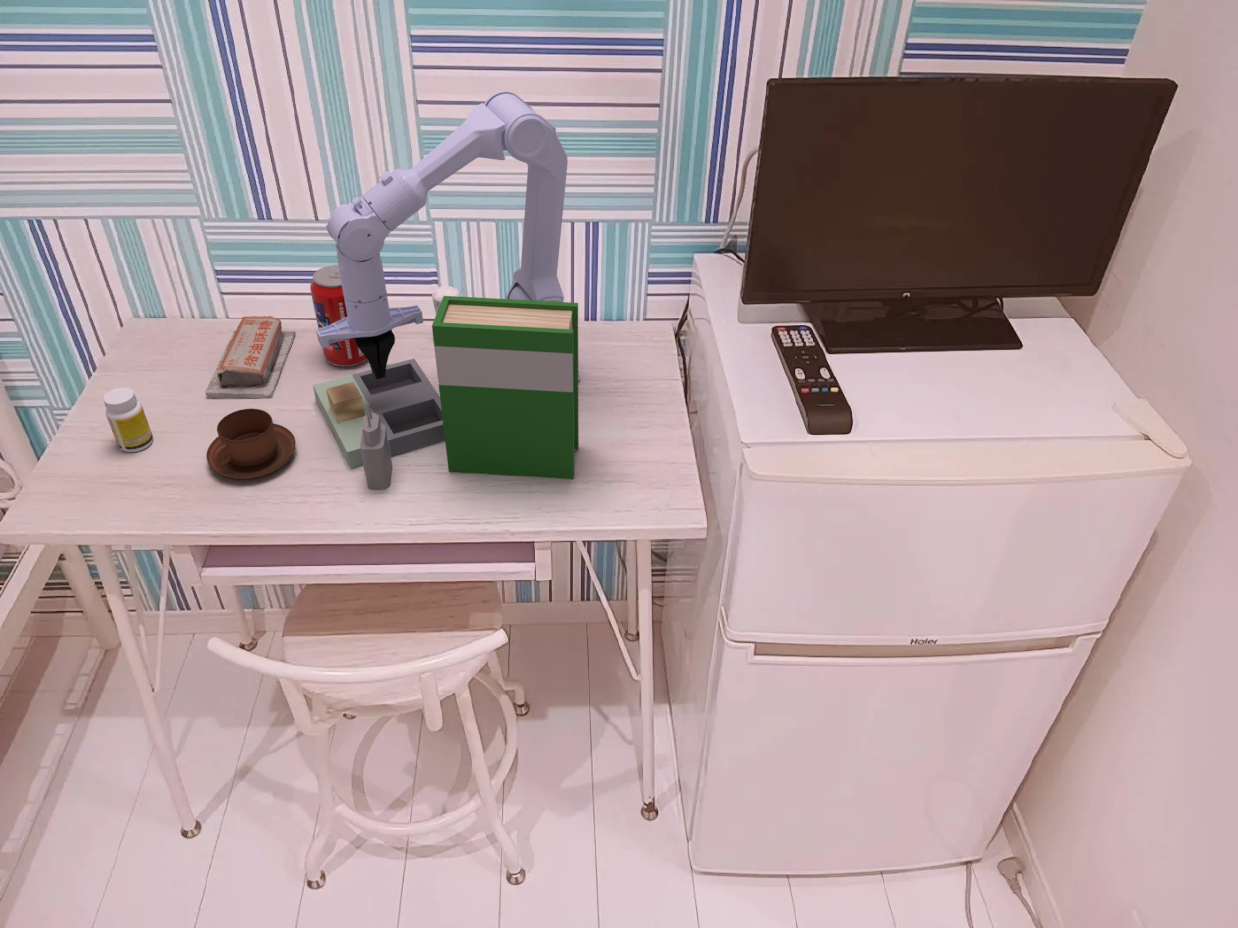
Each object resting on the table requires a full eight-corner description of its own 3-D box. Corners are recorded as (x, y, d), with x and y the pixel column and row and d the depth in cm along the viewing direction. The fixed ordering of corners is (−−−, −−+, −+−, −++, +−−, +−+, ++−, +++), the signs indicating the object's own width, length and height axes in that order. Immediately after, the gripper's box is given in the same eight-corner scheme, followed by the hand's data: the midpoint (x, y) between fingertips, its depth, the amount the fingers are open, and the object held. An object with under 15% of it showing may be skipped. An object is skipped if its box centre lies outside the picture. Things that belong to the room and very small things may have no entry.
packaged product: (229, 312, 161) (291, 312, 162) (236, 337, 164) (296, 337, 165) (198, 375, 147) (266, 375, 148) (206, 401, 151) (273, 401, 151)
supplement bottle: (161, 437, 143) (144, 390, 138) (138, 456, 139) (120, 408, 134) (133, 429, 144) (116, 382, 139) (111, 448, 141) (92, 401, 135)
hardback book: (578, 446, 144) (578, 302, 128) (573, 479, 138) (572, 333, 123) (458, 439, 144) (443, 295, 129) (448, 472, 139) (431, 325, 123)
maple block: (356, 401, 146) (353, 381, 143) (364, 415, 143) (361, 396, 141) (329, 408, 144) (325, 389, 142) (337, 423, 141) (333, 403, 139)
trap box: (416, 374, 157) (414, 358, 155) (457, 437, 145) (455, 420, 143) (316, 400, 151) (312, 384, 149) (350, 468, 138) (347, 452, 137)
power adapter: (366, 489, 135) (353, 420, 127) (370, 464, 139) (357, 396, 132) (390, 488, 135) (378, 419, 128) (392, 463, 140) (381, 394, 132)
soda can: (373, 368, 157) (359, 286, 148) (322, 372, 156) (305, 289, 147) (374, 342, 163) (362, 260, 154) (326, 345, 162) (310, 263, 153)
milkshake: (463, 346, 163) (458, 293, 156) (432, 342, 164) (426, 289, 157) (472, 332, 166) (467, 280, 160) (441, 328, 167) (436, 276, 161)
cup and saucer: (276, 491, 135) (266, 456, 131) (193, 480, 136) (182, 445, 132) (311, 437, 144) (303, 403, 140) (233, 428, 145) (224, 394, 141)
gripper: (406, 267, 139) (417, 348, 148) (303, 291, 134) (321, 373, 142) (423, 290, 134) (433, 372, 143) (318, 315, 129) (335, 399, 138)
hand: (378, 374), depth 142 cm, fingers closed
